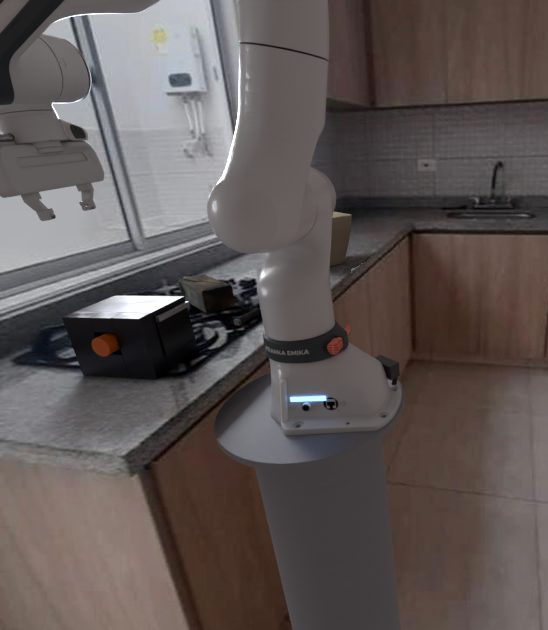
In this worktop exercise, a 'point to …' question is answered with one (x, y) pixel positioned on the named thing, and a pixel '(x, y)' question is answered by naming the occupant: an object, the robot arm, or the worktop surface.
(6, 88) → the robot arm
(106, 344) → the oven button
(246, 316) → the knife
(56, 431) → the worktop surface
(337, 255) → the flower pot
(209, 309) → the beverage carton
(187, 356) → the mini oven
